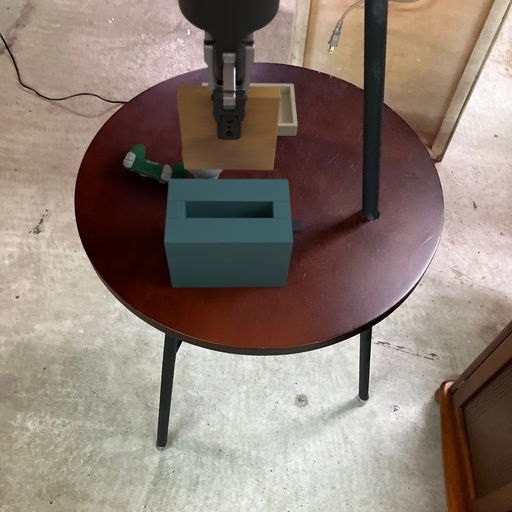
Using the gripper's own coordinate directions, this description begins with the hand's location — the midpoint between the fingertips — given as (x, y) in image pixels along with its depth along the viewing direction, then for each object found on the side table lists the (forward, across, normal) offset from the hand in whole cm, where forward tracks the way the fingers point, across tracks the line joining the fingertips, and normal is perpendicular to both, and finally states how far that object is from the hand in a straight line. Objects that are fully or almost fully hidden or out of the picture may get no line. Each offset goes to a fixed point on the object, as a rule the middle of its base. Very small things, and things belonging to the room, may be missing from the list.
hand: (229, 130), depth 52 cm
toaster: (+22, 0, 0) cm, 22 cm away
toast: (+5, 0, 0) cm, 5 cm away
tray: (+22, -26, +3) cm, 34 cm away
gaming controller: (+22, -14, -10) cm, 28 cm away
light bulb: (+22, -11, -3) cm, 25 cm away
